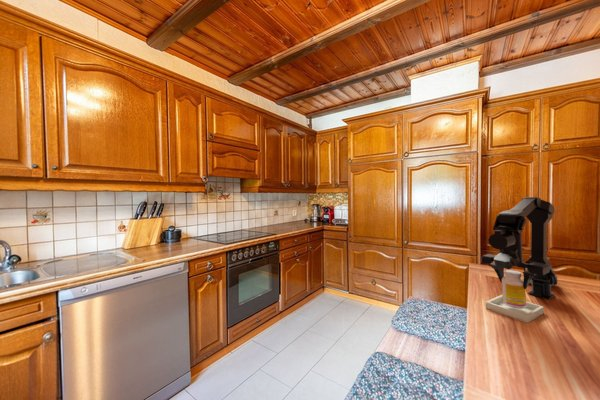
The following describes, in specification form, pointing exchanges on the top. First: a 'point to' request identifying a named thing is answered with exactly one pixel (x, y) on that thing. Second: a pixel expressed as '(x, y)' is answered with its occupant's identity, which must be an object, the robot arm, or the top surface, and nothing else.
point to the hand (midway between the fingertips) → (513, 285)
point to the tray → (515, 310)
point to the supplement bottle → (513, 290)
